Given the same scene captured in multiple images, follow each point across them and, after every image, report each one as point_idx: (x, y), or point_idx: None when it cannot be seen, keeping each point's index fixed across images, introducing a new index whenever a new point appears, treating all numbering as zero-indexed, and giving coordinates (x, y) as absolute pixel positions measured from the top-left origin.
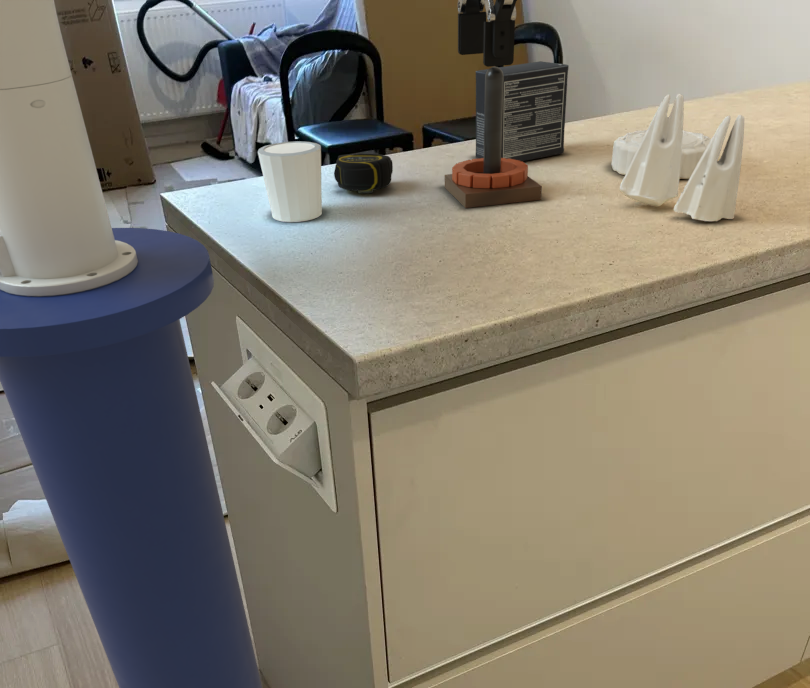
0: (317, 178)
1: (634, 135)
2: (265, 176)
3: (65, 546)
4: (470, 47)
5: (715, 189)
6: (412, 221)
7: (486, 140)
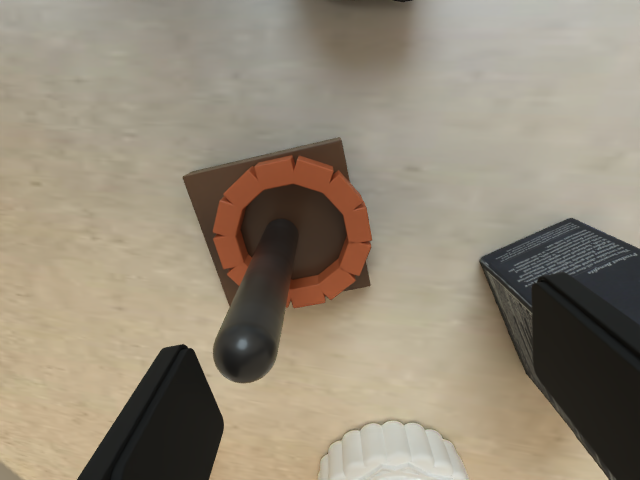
0: None
1: None
2: None
3: None
4: (543, 331)
5: None
6: (104, 59)
7: (256, 251)
